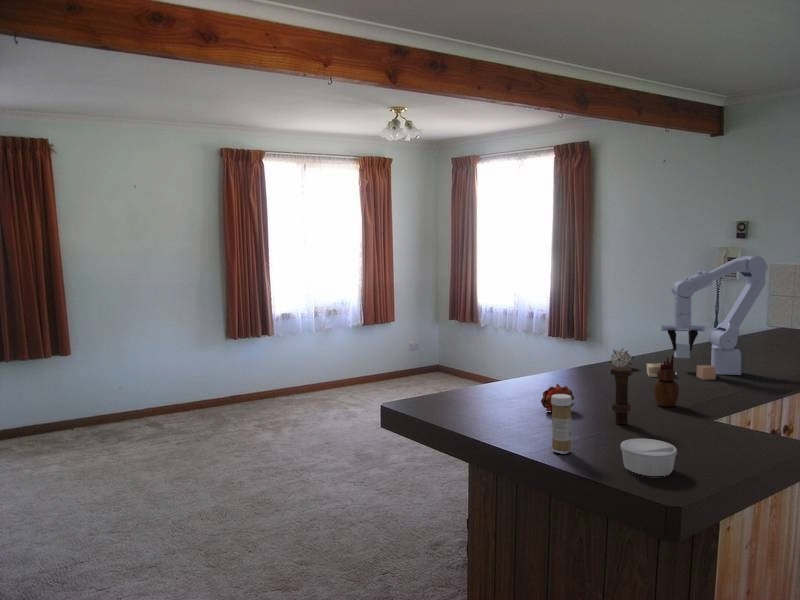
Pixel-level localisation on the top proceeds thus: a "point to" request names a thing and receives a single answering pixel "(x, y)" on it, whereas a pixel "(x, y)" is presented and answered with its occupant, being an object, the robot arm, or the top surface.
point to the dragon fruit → (552, 391)
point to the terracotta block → (706, 372)
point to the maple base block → (653, 369)
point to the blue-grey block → (682, 350)
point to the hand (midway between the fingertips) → (682, 350)
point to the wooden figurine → (666, 385)
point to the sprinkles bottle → (561, 422)
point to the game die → (621, 359)
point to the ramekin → (648, 456)
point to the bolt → (621, 394)
